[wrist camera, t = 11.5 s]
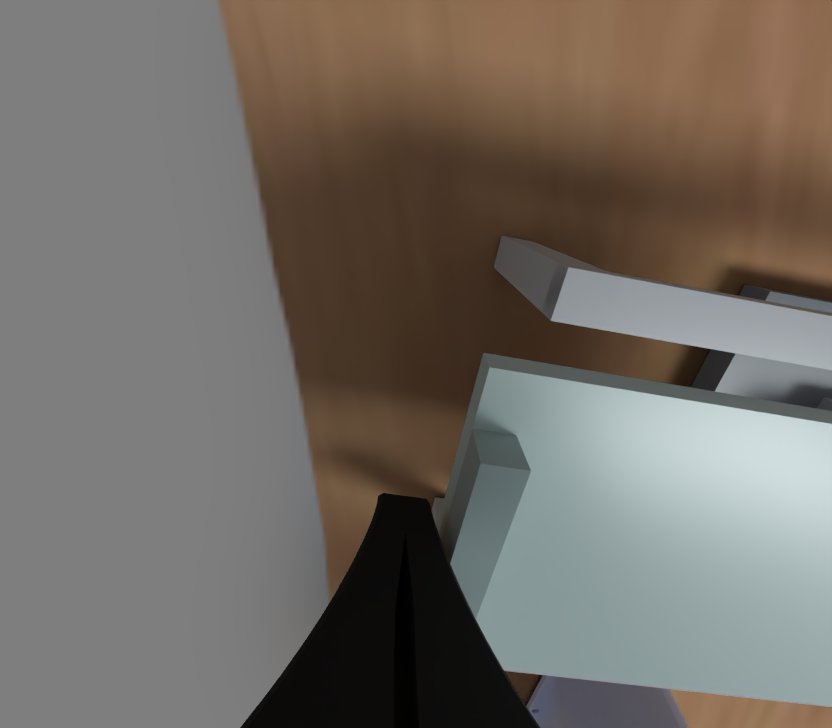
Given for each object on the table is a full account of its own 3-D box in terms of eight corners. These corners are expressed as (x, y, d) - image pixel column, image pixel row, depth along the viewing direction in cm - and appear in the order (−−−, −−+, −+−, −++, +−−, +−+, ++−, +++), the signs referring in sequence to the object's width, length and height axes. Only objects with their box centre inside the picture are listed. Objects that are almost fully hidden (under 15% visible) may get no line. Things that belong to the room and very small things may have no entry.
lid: (826, 679, 14) (890, 755, 12) (408, 631, 13) (407, 705, 11) (1066, 450, 10) (1219, 510, 8) (483, 352, 9) (501, 395, 7)
